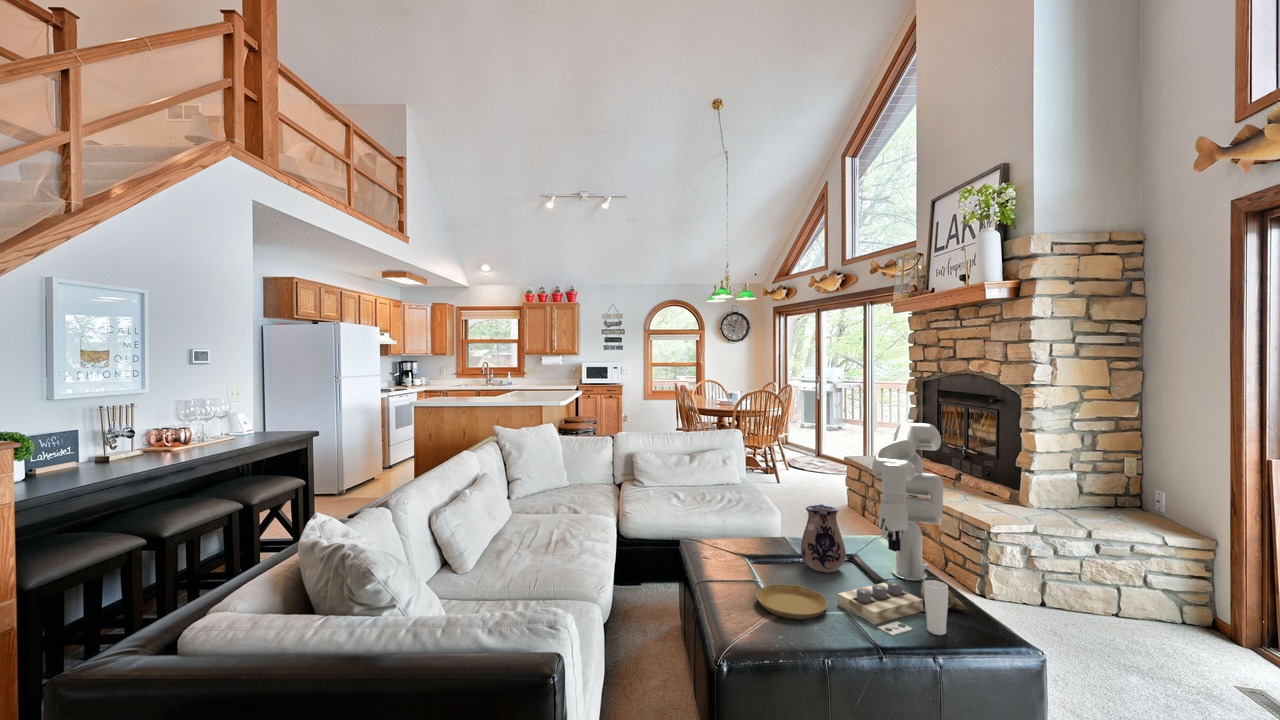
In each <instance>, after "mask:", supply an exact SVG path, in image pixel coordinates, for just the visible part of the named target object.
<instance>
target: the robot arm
mask: <svg viewBox="0 0 1280 720" xmlns="http://www.w3.org/2000/svg"><path fill="white" fill-rule="evenodd" d="M941 444H942V438H941V434H940V432H939V430H938V429H937V427H936V426H934V425H933V424H930V423H923V422H922V423H920V422H919V423H918V422H903V423H901V424H898V426H897V427H896V430H895V432H894V438H893V440H892V442H891V443H890V442H889V443H888V444H886V445H884V446H882V447H881V448H879V449H878V450H876V453H875V455H874V457H873V461H872V465H871V471H872V473H873V476H874V477H876V478H877V479H881V487H882V489H881V493H882V497H881V498H882V501H880V505H879V510H878V528H879V530H881V535H883V536H886V538H887V540H888V541H887V542H888V543H887V545H888V546H887V549H888V550H890V551H892V552H895V563H896V564H895V567H894V568H893V569H896V570H893V569H892V570H891V572H892V571H893V573H895V574H897V575H899V576H901V577H904V578H908V579H915V578H916V579H925V578H927V579H928V575H927V573H925V570H928V569H930V568H931V567H930V564H929V563H924V564H923V534H922V530H921V528H920V527H919V525H918V523H921V524H927V525H936V526H937V525H939V524H941V522H942V519H943V511H944V510H943V508H944V507H943V505H944V482H943V479H942V477H941V475H938V474H935V473H929V472H924V461H923V459H922V457H920V455H919V454H918V452H916V450H918V451H919V450H922V451H938V450H939V449H940V447H941ZM906 495H909V496H906ZM910 495H911V496H910ZM915 496H916V497H915ZM918 496H919V497H918ZM922 497H923V498H922ZM924 497H926V498H924ZM928 498H929V499H928Z"/></svg>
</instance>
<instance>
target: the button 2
mask: <svg viewBox="0 0 1280 720" xmlns="http://www.w3.org/2000/svg"><path fill="white" fill-rule="evenodd" d="M887 584H888V594H890V595H892V596H895V597H898V596H902V591H903V584H901V583H899V582H896V581H888V582H887Z"/></svg>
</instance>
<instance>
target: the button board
mask: <svg viewBox="0 0 1280 720" xmlns="http://www.w3.org/2000/svg"><path fill="white" fill-rule="evenodd" d="M874 585H880V586H884V587H886V588H887V600H883V601H879V600H877V599H875V598H873V597H872V586H874ZM874 585H873V584H872V585H869V586H863V587H860V588H856V589H852V590H848V591H847V590H846V591H843V592H838V593H837V606H838V607H840V608H843V609H844V610H846V611H848V612H850V613H851V614H854V615H856V614H857V615H856V616H858V615H859V616H860V618H861V617H862V619H863V618H864V620H865V619H866V620H865V621H867V620H868V622H869V621H870V623H871V622H872V623H871V624H873V623H874V624H873V625H878V624H881V622H882V623H884V621H885V622H889V621H892V620H891V619H893V620H895V618H896V619H899V618H898V617H900V618H903V617H906V616H909V615H910V614H911V615H914V614H917V613H921V612H923V611H924V600H923V599H922V597H921V598H920V597H918V596H916V595H913V594H911V593H909V592H907V591H906V590H905V591H904V590H902V596H898V597H895V596H892V595H890V594H888V583H887V582H881V583H877V584H874ZM857 589H866V590H869V591H870V592H871V604H867V605H863V604H861V603H859V602H857ZM859 616H858V617H859ZM888 620H889V621H888ZM877 623H878V624H877Z"/></svg>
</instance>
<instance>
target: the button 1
mask: <svg viewBox="0 0 1280 720" xmlns="http://www.w3.org/2000/svg"><path fill="white" fill-rule="evenodd" d="M856 589H857V602H859V603H861V604H863V605H867V604H871V592H870V591H869V590H866V589H859V588H856Z"/></svg>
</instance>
